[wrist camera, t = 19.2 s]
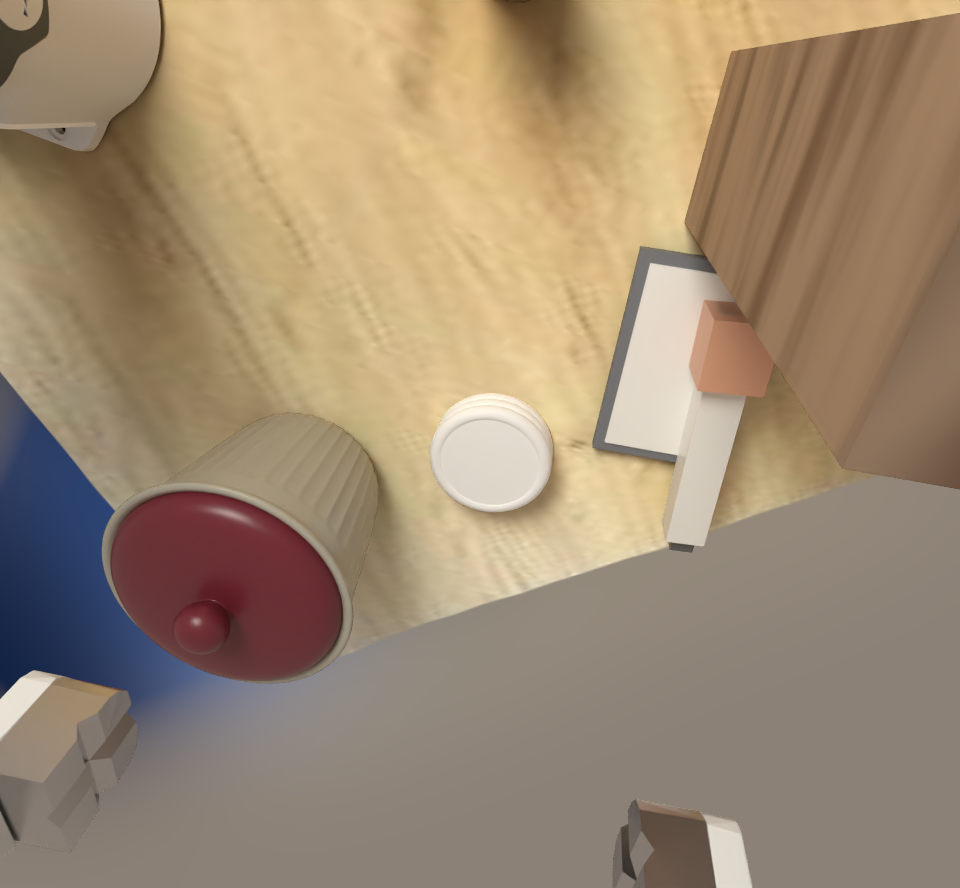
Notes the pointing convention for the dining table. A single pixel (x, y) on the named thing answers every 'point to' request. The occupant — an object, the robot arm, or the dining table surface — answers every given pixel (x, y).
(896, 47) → the walnut stand
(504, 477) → the coaster
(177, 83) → the dining table surface
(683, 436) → the marker
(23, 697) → the robot arm
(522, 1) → the olive game pawn
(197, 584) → the canister
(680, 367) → the writing board
